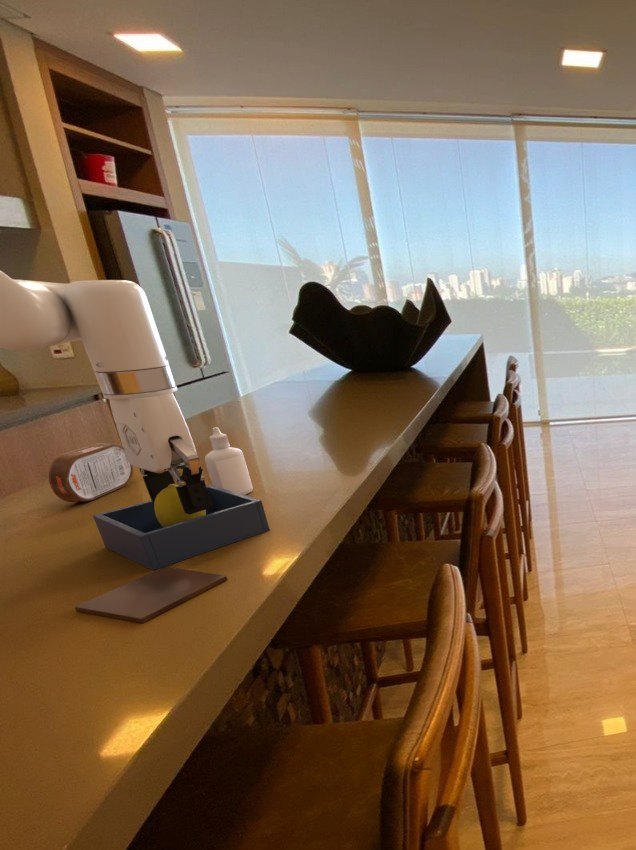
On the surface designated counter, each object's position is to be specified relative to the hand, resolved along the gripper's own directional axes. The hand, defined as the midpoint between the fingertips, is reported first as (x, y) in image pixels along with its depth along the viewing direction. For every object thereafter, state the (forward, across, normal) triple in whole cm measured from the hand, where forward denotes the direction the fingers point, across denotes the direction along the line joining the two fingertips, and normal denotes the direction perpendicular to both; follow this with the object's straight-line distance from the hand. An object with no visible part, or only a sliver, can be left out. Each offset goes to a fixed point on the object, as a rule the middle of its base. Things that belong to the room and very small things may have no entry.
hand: (182, 505), depth 80 cm
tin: (+5, -36, +2) cm, 37 cm away
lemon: (+5, 0, 0) cm, 5 cm away
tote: (+5, 0, 0) cm, 5 cm away
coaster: (+5, +15, -10) cm, 19 cm away
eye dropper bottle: (+5, -14, +13) cm, 20 cm away
